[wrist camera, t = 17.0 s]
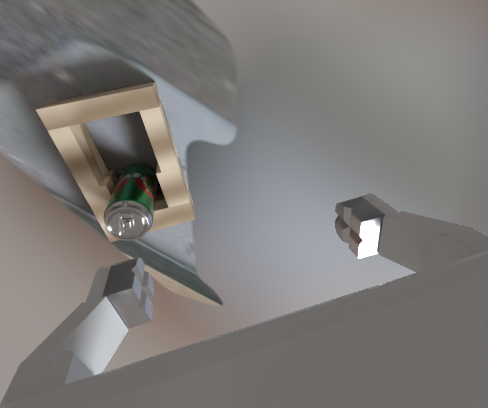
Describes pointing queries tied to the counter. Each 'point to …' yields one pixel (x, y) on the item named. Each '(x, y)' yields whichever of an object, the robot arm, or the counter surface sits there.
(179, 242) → the counter surface
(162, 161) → the keyhole board
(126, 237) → the soda can
